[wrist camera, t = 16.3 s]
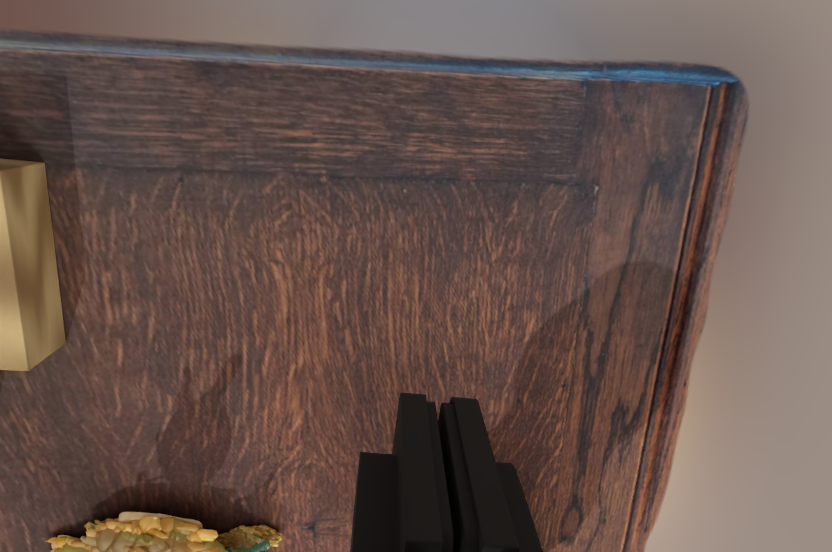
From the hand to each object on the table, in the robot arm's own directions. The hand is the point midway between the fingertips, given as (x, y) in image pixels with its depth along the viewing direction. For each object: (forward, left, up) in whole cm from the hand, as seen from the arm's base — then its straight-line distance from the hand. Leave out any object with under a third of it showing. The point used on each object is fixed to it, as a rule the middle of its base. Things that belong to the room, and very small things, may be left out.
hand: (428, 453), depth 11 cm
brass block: (+4, -24, -24) cm, 34 cm away
